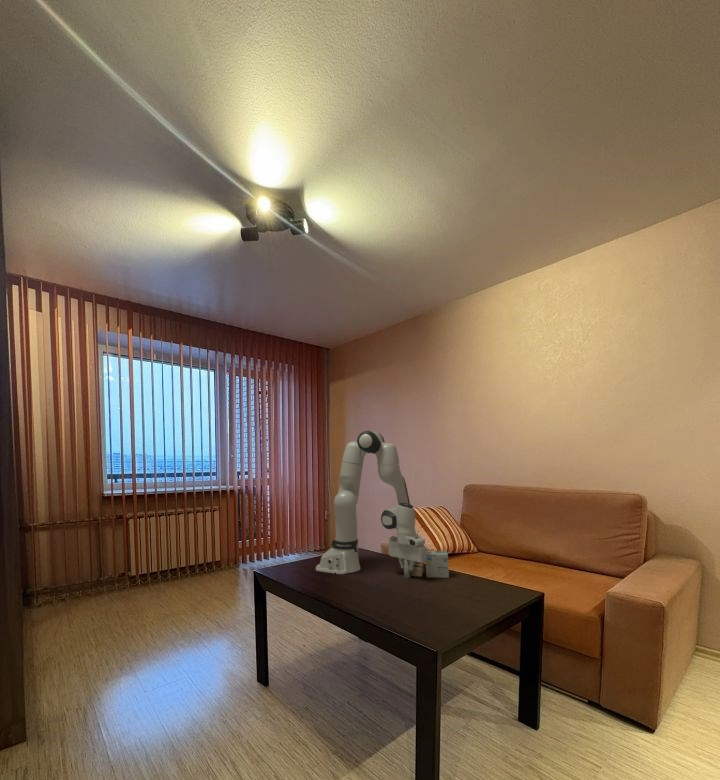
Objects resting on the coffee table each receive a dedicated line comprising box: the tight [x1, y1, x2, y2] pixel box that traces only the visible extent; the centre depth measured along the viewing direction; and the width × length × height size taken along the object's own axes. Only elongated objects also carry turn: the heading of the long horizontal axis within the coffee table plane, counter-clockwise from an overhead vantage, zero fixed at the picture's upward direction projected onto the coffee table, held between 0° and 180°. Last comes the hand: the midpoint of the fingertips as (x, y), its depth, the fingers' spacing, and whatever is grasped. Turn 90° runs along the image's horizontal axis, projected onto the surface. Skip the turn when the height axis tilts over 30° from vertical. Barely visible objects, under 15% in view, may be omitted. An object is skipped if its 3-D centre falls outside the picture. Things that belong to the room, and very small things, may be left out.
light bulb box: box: [424, 550, 450, 579], centre depth 192 cm, size 11×7×11 cm, turn 84°
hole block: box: [410, 563, 424, 577], centre depth 195 cm, size 8×8×4 cm
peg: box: [403, 559, 412, 579], centre depth 189 cm, size 3×3×9 cm
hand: (407, 569), depth 189 cm, fingers closed on peg, 3 cm apart
